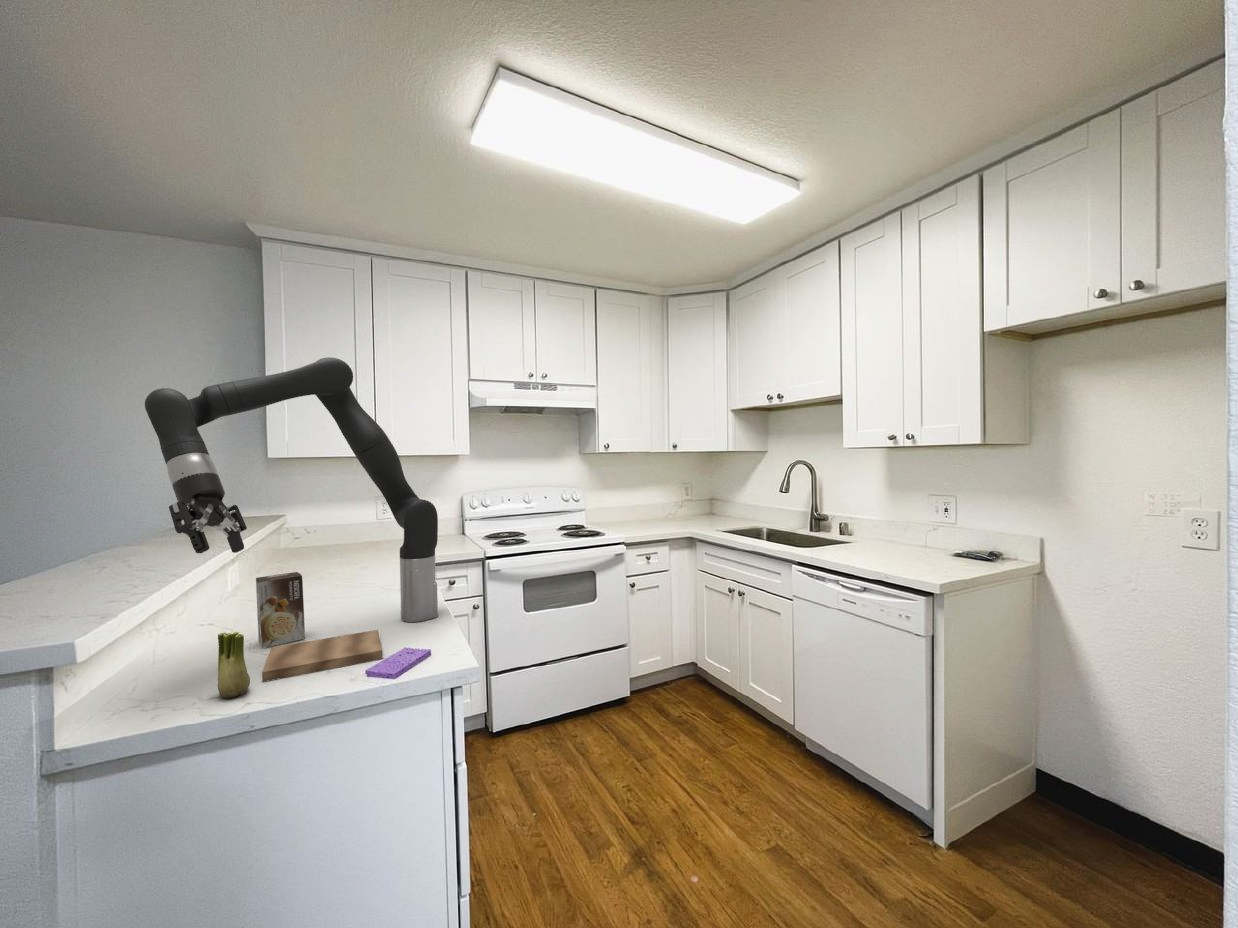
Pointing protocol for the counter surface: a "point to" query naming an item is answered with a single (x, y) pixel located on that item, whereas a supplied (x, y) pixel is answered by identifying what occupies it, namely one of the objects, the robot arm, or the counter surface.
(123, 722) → the counter surface
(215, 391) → the robot arm
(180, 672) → the counter surface
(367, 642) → the cutting board
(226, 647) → the fennel bulb
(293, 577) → the food box
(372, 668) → the sponges
